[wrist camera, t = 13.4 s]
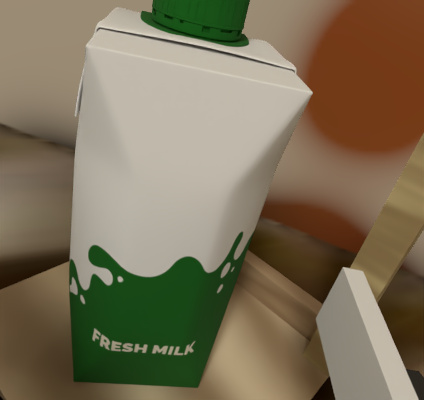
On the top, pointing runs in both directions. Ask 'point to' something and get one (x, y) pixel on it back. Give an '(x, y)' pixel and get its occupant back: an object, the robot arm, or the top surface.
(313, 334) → the wooden frame stand
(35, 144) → the top surface
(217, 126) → the fresh milk carton
